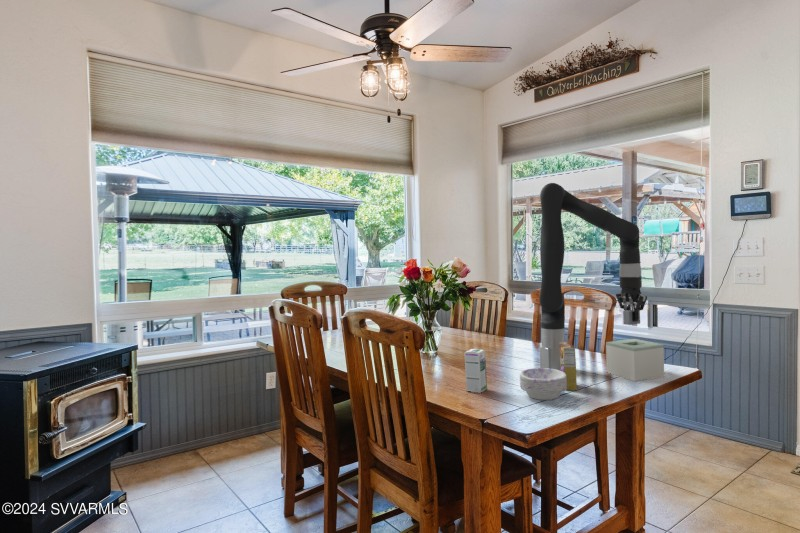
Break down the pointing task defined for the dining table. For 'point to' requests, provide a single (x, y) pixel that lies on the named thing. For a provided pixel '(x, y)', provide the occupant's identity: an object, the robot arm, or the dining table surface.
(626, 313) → the gray block
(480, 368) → the syrup box
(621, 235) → the robot arm
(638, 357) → the box
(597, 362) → the dining table surface
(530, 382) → the marbled stone bowl
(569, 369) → the candy box
